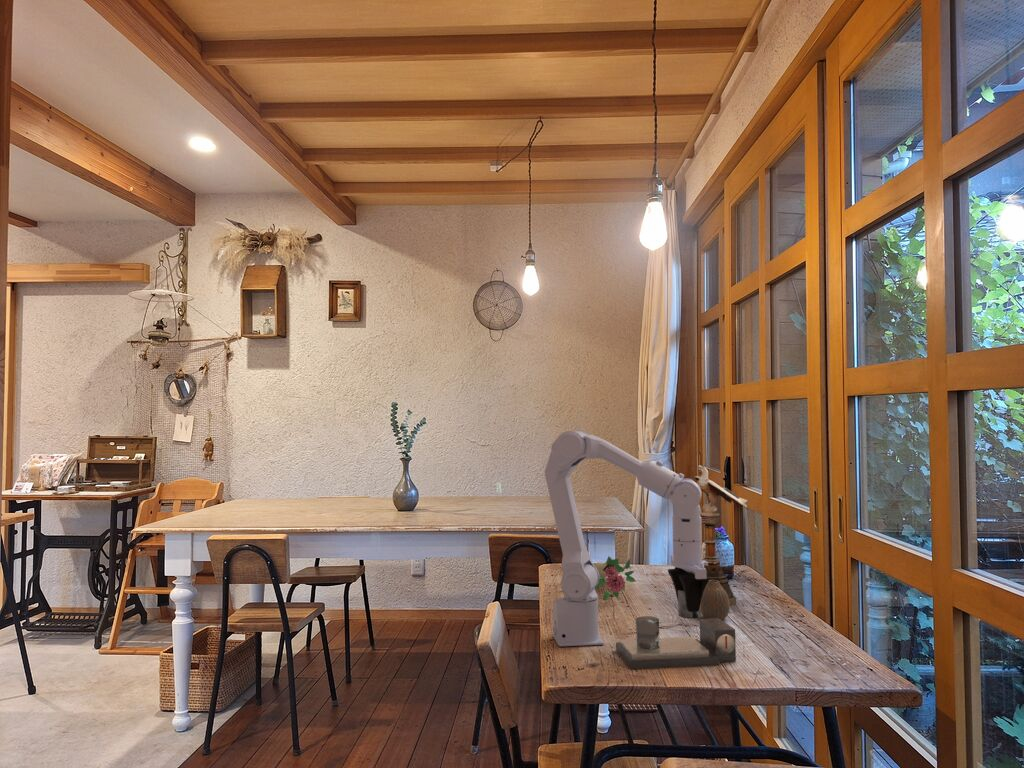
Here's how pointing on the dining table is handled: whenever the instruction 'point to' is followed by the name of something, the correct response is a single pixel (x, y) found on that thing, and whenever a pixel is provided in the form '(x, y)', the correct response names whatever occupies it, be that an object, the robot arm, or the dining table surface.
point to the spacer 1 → (647, 632)
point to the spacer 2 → (683, 609)
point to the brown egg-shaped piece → (714, 601)
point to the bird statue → (710, 520)
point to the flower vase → (613, 576)
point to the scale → (684, 648)
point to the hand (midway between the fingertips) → (688, 608)
